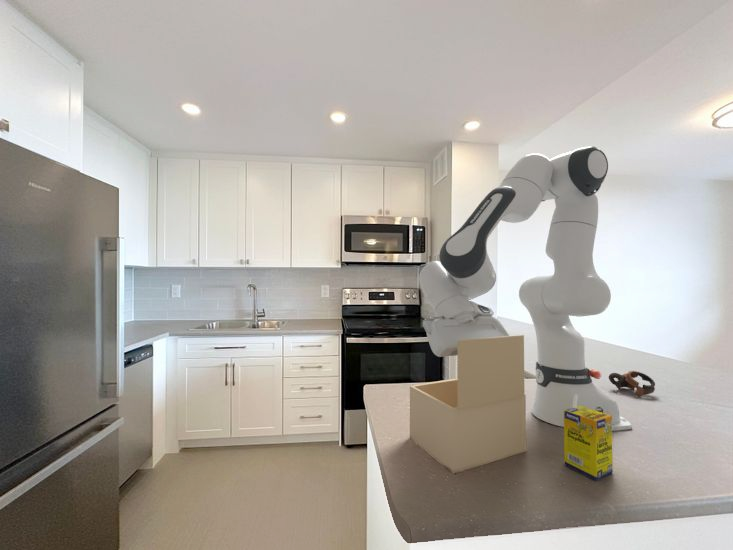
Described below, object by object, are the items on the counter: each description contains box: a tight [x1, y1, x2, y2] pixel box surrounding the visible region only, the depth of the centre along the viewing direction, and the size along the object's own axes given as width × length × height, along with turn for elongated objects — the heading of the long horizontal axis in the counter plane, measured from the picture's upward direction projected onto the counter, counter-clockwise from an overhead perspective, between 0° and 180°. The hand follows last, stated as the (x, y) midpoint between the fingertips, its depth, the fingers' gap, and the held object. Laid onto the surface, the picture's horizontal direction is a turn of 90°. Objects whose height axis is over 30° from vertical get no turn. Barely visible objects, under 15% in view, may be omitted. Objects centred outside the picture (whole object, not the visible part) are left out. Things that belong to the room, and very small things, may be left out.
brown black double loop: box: [608, 370, 656, 398], centre depth 105 cm, size 12×10×8 cm
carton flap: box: [456, 334, 525, 410], centre depth 63 cm, size 18×13×1 cm
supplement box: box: [563, 406, 614, 481], centre depth 60 cm, size 6×6×11 cm
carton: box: [409, 377, 527, 475], centre depth 69 cm, size 20×16×12 cm
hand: (488, 369), depth 63 cm, fingers closed, pressing on carton flap
